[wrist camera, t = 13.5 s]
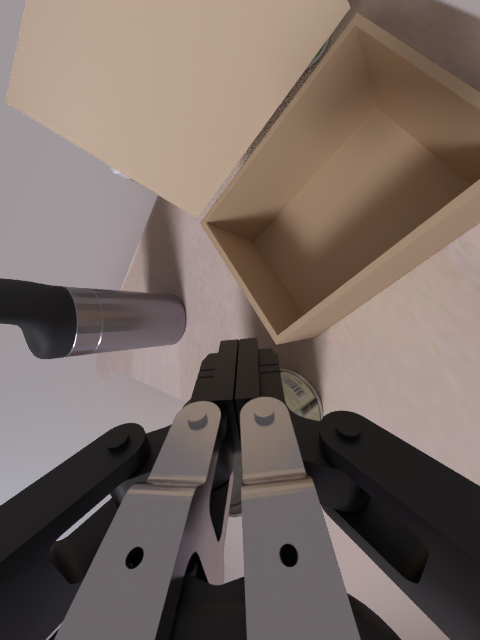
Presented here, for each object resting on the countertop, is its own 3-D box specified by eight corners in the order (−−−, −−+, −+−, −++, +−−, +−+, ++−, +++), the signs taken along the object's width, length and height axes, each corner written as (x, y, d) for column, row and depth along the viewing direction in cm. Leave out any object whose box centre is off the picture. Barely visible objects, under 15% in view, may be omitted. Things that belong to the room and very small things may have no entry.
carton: (505, 204, 22) (551, 138, 13) (315, 336, 31) (276, 344, 23) (378, 102, 27) (357, 12, 19) (250, 243, 37) (200, 222, 29)
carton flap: (131, -515, 8) (130, -496, 8) (5, 102, 18) (7, 99, 18) (350, 7, 18) (346, 6, 19) (196, 218, 28) (196, 215, 28)
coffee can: (248, 429, 37) (170, 479, 26) (257, 360, 36) (178, 380, 25) (318, 462, 31) (254, 546, 20) (330, 380, 30) (270, 420, 19)
